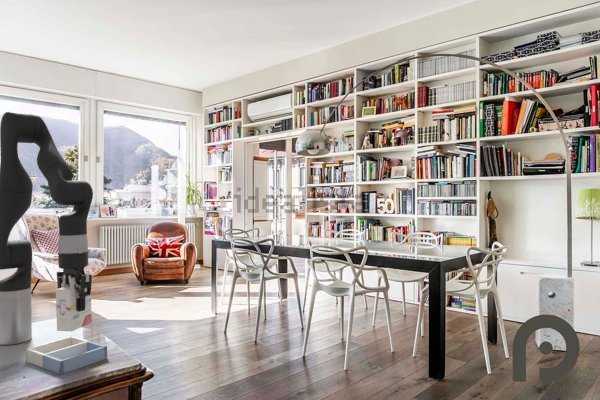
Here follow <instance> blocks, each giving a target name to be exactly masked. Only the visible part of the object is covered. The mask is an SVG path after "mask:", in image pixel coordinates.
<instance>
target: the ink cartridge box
mask: <svg viewBox="0 0 600 400" xmlns="http://www.w3.org/2000/svg"><path fill="white" fill-rule="evenodd" d="M85 274H86V275H90V273H85ZM69 283H70V286H66V287H63V288H59V289H58V288H56V289H55V304H56V305H55V306H56V307H55V309H56V310H55V311H56V331H57V332H69V333H70V332H73V331H76V330H79V329H81V328H84V327H85V326H87V325H90V324H92V320H93V319H92V293H91V294H90V295H88V296H86V297H85V310H84V311H80V312H79V311H77V310H76V298H77V297H76V291H75V290H74V284H76V282H75V277H74V278H70V279H69ZM76 286H77V287H79V286H80V285H77V284H76ZM85 289H86V291H87V288H85ZM79 293H80V290H79Z"/></svg>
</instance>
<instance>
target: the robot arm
mask: <svg viewBox="0 0 600 400" xmlns="http://www.w3.org/2000/svg"><path fill="white" fill-rule="evenodd" d="M18 143H20V144H23V143H24V144H36V145H37V146H38V147H39V151H38V154H37V157H36V164H37V167H38V169H39V171H40V172H41V174H42V175H43V177H44V178H45V180H46V181H47V184H48V188H49V192H50V197H51V199H52V201H53V202H54V203H56V204H57V205H60V206H73V209H72V210H71V211H70V212H67V213H65V214H62V215H60V216H59V219H58V234H59V235H58V243H57V248H58V251H57V252H58V268H60V269H63V270H61V271H57V272H56V281H57V289H59V288H63V287H66V286H70V283H69V279H70V278H74V277H75V282H76V284H77V285H80V286H79V287H77V286H76V284H74V290H75V291H76V297H77V298H76V310H77V311H79V312H80V311H84V310H85V297H86V296H88V295H90V294H91V295H92V277H93V276H92V274H91V273H89V275H86V274H87V273H85V272H86V271H85V268H86V267H88V265H89V239H88V235H87V234H88V232H87V231H88V225H87V224H88V222H87V221H88V216H89V213H90V209H91V205H92V201H93V199H94V197H93V196H94V190H93V187H92V185H91V184H90V183H89V182H87V181H85V180H73V176H74V173H73V170H72V168H71V167H70V166H69V165H68V163H67V162H66V160H65V159H64V158H63V156H62V155H61V154H60V152H59V150H58V148H57V146H56V143H55V142H54V139H53V137H52V135H51V133H50V130H49V129H48V126H47V124H46V123H45V121H44V119H43V118H42V117H41V116H40V115H38V114H34V113H27V112H19V111H18V112H17V111H16V112H15V111H6V112H4V114H3V115H2V117H1V120H0V271H1V270H10V269H16V271H15V272H14V273H13V274H11V275H9V276H7V277H6V278H3V279H1V280H0V345H3V346H10V345H11V346H12V345H18V344H22V343H25V342H28V341H30V340H31V339H32V338H33V337H32V336H33V333H32V332H33V331H32V329H33V328H32V326H33V324H32V323H33V322H32V276H33V275H32V274H33V273H32V269H33V267H32V266H33V248H32V243H31V242H30V241H29V240H28V239H15V240H12V239H11V240H9V238H10V235H11V232H12V230H13V229H14V227H15V226H16V224H17V223H18V222H19V220H20V219H22V217H23V216H25V215H26V212H27V211H28V210H29V208H30V207H31V204H32V199H33V191H34V190H33V189H34V185H33V181H32V178H31V177H30V175H29V174H28V172H27V170H26V169H25V167H24V166H23V164H22V162H21V160H20V158H19V151H18V145H19V144H18ZM85 288H87V291H86V289H85ZM79 290H80V293H79Z"/></svg>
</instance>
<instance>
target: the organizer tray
mask: <svg viewBox="0 0 600 400" xmlns="http://www.w3.org/2000/svg"><path fill="white" fill-rule="evenodd" d="M106 359H108V346H107V345H104V344H101V343H97V342H94V341H90V340H87V339H83V338H80V337H77V336H74V335H71V336H67V337H63V338H60V339H57V340H53V341H49V342H45V343H42V344H39V345H36V346H31V347H28V348H25V362H27V363H29V364H33V365H35V366H37V367H40V368H43V369H46V370H48V371H51V372H53V373H56V374H58V375H63V374H66V373H69V372H72V371H75V370H78V369H80V368H84V367H86V366H89V365H93V364H95V363H98V362H101V361H103V360H106Z"/></svg>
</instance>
